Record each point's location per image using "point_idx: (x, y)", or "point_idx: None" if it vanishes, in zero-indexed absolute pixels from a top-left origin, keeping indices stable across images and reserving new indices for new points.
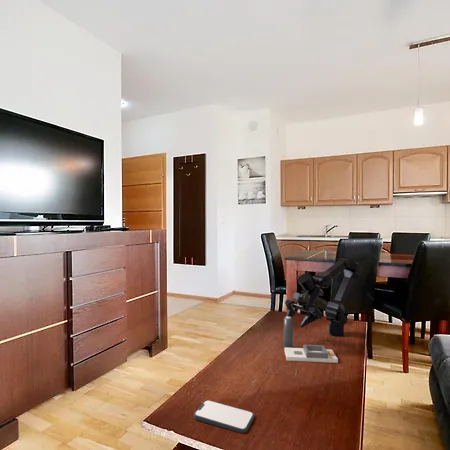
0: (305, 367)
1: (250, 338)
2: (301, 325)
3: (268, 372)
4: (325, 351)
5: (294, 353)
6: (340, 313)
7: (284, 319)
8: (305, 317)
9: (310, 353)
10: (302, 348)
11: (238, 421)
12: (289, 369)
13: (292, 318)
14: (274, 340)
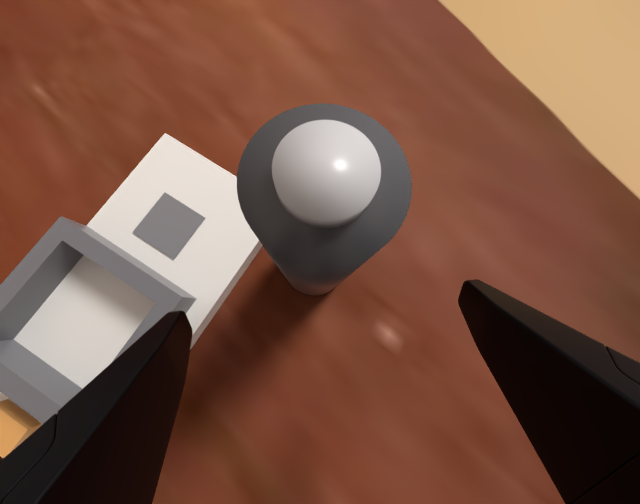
0: (55, 177)
1: (531, 147)
2: (158, 321)
3: (126, 4)
4: None
5: (172, 197)
6: None
7: (333, 109)
8: (42, 472)
9: (45, 239)
10: (208, 302)
11: None
12: (90, 95)
13: (296, 246)
14: (452, 259)
